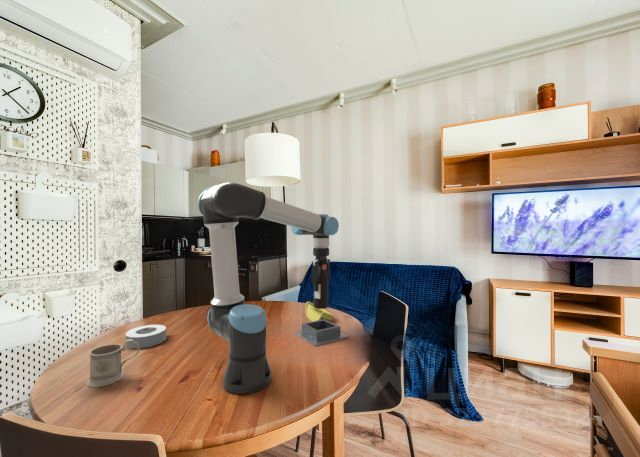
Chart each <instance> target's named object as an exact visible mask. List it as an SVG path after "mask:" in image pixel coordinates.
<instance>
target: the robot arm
mask: <svg viewBox="0 0 640 457" xmlns="http://www.w3.org/2000/svg"><path fill="white" fill-rule="evenodd" d="M197 207H198V211H199V212H200V214H201V215H202V218H203V225H204V227H206V228H207V229H208V232H209V244H210V245H209V246H210V256H211V258H210V259H211V267H212V268H211V269H212V278H213V279H212V281H213V291H214V294H213V295H214V296H213V298H212V299H211V300H210V309H209V310H208V311H207V319H206V320H207V324H208V326H209V328H210V330H211V331H212V332H213V333H214V334H215V335H217V336H219V337H220V338H222V339H224V340H225V341H227V342H228V360H227V364H226V367H225V369H224V373H223V377H222V387H223V389H224V390H225V391H227V392H228V393H231V394H236V395H247V394H252V393H256V392H259V391H261V390H263V389H265V388H266V387H268V385H269V384H270V383H271V381H272V369H271V366H270V364H269V361H268V358H267V325H268V324H267V323H268V321H267V313H266V311H265V309H264V308H262V307H261V306H259V305H256V304H250V303H249V304H248V303H246V301H245V296H244V295H243V294H241V292H240V283H239V282H240V280H239V267H238V256H237V255H238V253H237V242H236V230H235V228H236V226H237V225H238V224H239V223H240V222H239V218H245V219H247V218H248V219H252V220H259V219H263V220H266V221H270V222H275V223H278V224H282V225H285V226H289V227H290V230H291V232H292V233H293V234H294V235H296V236H312V242H313V243H312V244H313V245H312V246H313V249H312V254H313V256H314V257H315V259H314V261H313V260H312V261H311V284H312V285H313V286H314V285H315V296H314V295H313V299H314V298H317V299H320V284H319V283H320V275H321V270H322V269H323V264H326V273H327V274H328V283H329V282H330V281H331V280H330V279H331V273H330V272H331V271H330V269H331V268H330V266H331V265H330V263H331V260H330V259H329V258H327V257H329V256H330V248H329V247H330V236H334V235H336V234H337V232H338V231H339V226H340V222H339V221H338V219H337V218H336V217H334V216H330V215H328V214H325V213H315V212H312V211H310V210H306V209H303V208H300V207H297V206H294V205H292V204H289V203H286V202H283V201H281V200H277V199H274V198H272V197H268V196H266V193H265V192H263V191H260V190H259V189H255V188H253V187H250V186H247V185H245V184H240V183H237V182H224V183H221V184H216V185H212V186H210V187H209V186H208V187H207V188H206V189H204V190H203V191H202V192H201V193H200V195H199V197H198V200H197ZM319 267H320V268H319Z"/></svg>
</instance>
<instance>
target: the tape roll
mask: <svg viewBox="0 0 640 457" xmlns="http://www.w3.org/2000/svg"><path fill="white" fill-rule="evenodd" d="M124 335H125V338H124V340H125V341H124V343H126V342H127V341H126V340H128V339H133V340H132V341H135V342H137V343H138V344H139V347H140V349H145V348H146V347H147V348H150V347H151V348H152V347H154V345H155V346H158V345H160V344H162V343H164V342H165V341H166V339H167V326H165V325H162V324H146V325H142V326H141V325H140V326H138V327H134V328H132V329H129V330H128V331H127V332H126V333H125V334H124ZM163 341H164V342H163ZM157 344H158V345H157ZM125 347H126V348H127V347H128V348H127V349H131V348H138V346H137V344H135V343H132V342H130V343H127V344H126V345H125Z"/></svg>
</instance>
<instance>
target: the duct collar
mask: <svg viewBox="0 0 640 457" xmlns="http://www.w3.org/2000/svg"><path fill="white" fill-rule="evenodd" d="M294 334H295V336H298V337H299V338H301V339H302V340H304V341H305V342H307V343H308V344H310V345H312V346H314V347H319V346H322V345H325V344H330V343H334V342H337V341H341V340H344V339H348V338H349V336H348V335H347V334H345V333H343V332H341V326H340V325H337V324H336V323H333V322H332V321H329V320H326V319H324V318H321V319H320V320H318V321H313V322H312V321H309V322H303V323H301V330H296V331H294Z"/></svg>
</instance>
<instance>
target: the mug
mask: <svg viewBox="0 0 640 457" xmlns="http://www.w3.org/2000/svg"><path fill="white" fill-rule="evenodd" d="M132 340H133V339H128V340H126V341H127V342H126V343H125V342H124V343H123V345H122V344H118V343H114V344H113V343H111V344H106V345H102V346H97V347H96V348H94V349H93V348H92V350H91V351H89V354H88V355H89V358H90V361H89V364H90V365H89V379H88V380H87V381H86V383H85V384H87V385H86V387H88V386H90V387H89V388H100V386H102V387H106V386H110V385H112V384H114V383H117V382H119V381H120V380H122V379H124V376H125V372H123V370H122V369H123V366H124V365H125V363H126V362H128V361H129V360H131V359H133V358H136V356H137V355H138V354H139V353H140V349H141V348H140V347H139V344H138V343H137V342H135V341H132ZM130 342H132V343H135V344H137V346H138V349H137V351H136V353H135V354H133V356H130V357H128V358H126V359H125V360H123V361H122V352H125V351H126V349H127V347H126V346H125V345H126V344H127V343H130ZM116 381H117V382H116ZM109 384H110V385H109ZM105 385H106V386H105Z"/></svg>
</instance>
